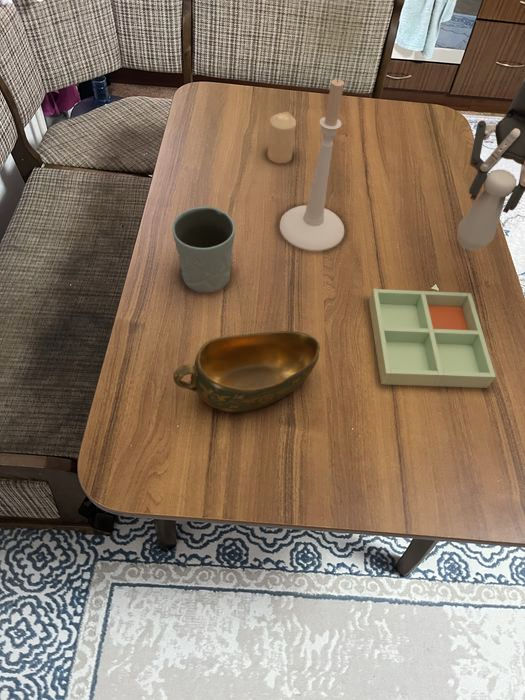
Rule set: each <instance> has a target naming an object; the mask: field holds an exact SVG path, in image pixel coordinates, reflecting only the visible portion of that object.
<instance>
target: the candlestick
mask: <svg viewBox="0 0 525 700" xmlns="http://www.w3.org/2000/svg"><path fill="white" fill-rule="evenodd" d="M344 87H345V82H344V80H342V79H341V78H340V79H339V78H334V79H332V80H331V82H330V87H329V93H328V99H327V105H326V110H325V116H323V117H321V118H320V119H319V124H320V126H322V127H321V129H320V132H321V134H322V140H321V141H320V147H319V150H318V155H317V160H316V164H315V168H314V172H313V177H312V182H311V186H310V190H309V195H308V200H307V204H305V205H303V204H302V205H298V206H295V207H292V208H290V209H289V210H287V211H286V212H285V213H284V214H283V215H282V216H281V218H280V220H279V232H280V234H281V235H282V237H283V238H284V240H285V241H286V242H288V243H289V244H290V245H291V246H293V247H295V248H298V249H300V250H304V251H308V252H309V251H310V252H322V251H327V250H330V249H333V248H335V247H336V246H337V245H338V244H340V243H341V241H342V240H343V238H344V235H345V226H344V223H343V221H342V220H341V218H340V217H339V216H338V215H337V214H336V213H335V212H333V211H331V210H330V209H328V208H325V207H326V199H327V198H326V197H327V191H328V184H329V175H330V167H331V161H332V151H333V147H334V142H333V140H334V137H335V136H337V134H338V129H340V128H341V126H342V121H341V120H340V119H339V113H340V108H341V103H342V97H343V93H344Z"/></svg>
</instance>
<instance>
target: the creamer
mask: <svg viewBox="0 0 525 700" xmlns="http://www.w3.org/2000/svg"><path fill="white" fill-rule="evenodd" d="M320 352H321V345H320V342H319V341H318V340H317V338H315V337H314V336H312V335H311V334H308V333H304V332H300V331H295V330H279V331H278V330H276V331H275V330H274V331H265V332H255V333H244V334H235V335H233V334H232V335H224V336H220V337H215V338H213V339H212V338H211V339H210V340H208V341H206V342H205V343H203V345H201V347H200V348H199V349H198V351H197V353H196V357H195V360H194V363H193V364H194V365H193V364H184V365H181V366H179V367H177V368H176V369H175V371H174V372H173V382H174V384H175V385H177V386H178V387H179V388H182V389H185V390H190V391H192V392H194V393H196V394H197V395H198V396H199V397H200V398H201V399H202V400H203V401H204V402H205V403H206V404H207V405H209V406H211V407H212V408H214V409H216V410H219V411H222V412H224V413H229V414H245V413H250V412H254V411H259V410H262V409H263V408H267V407H269V406H271V405H273V404H275V403H277V402H279V401H280V400H282V399H284V398H286V397H287V396H289V394H291V393H293V392H294V391H295V390H297V388H299V387H300V386H301V385H302V384H303V383H304V382H305V381H307V379H308V378H309V376H310V375H311V374H312V372H313V370H314V368H315V366H316V364H317V363H318V361H319V357H320ZM187 375H190V380H189V381H184V380H183V378H184V376H187Z"/></svg>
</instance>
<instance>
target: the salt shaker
mask: <svg viewBox="0 0 525 700" xmlns="http://www.w3.org/2000/svg"><path fill="white" fill-rule="evenodd" d="M487 174H488V175H487V177H486V179H485V181H484V184H483V188H484V190H483V191H482V192H481V194H480V195H479V196H478V197H477V198H476V200H475V202H474V203H473V204H472V206H471V207H470V208H469V210H468V211H467V212H466V214H464V216H463V217H462V219H461V220H460V222H458V225H457V230H456V240H457V242H458V244H459V245H460V246H461V248H462V249H464V250H468V251H472V252H476V251H478V250H480V249H483V248H484V247H486V246H488V245H489V244H490V243H492V241H493V240H494V239H495V236H496V232H497V230H498V226H499V222H500V219H501V216H502V212H503V210H504V204H505V201H506V197H508V196H511V194H512V192H513V191H514V189H515V187H516V185H517V179H516V177H515V175H514V174H513V173H511V172H510V171H508V170H505V169H500V168H499V169H493V170H490V171H489V172H488V173H487Z"/></svg>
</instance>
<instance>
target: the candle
mask: <svg viewBox="0 0 525 700" xmlns="http://www.w3.org/2000/svg"><path fill="white" fill-rule="evenodd" d="M268 128H269V130H268V142H267V158H268V160H270V161H271V162H273V163H275V164H286V163H289V162H290V161H291V160H292V159H293V152H294V145H295V137H296V128H297V120H296V118H294V116H293V115H292V114H291V113H290V112H289V111H282V112H279V113H276V114H274V115H272V116H271V117H270V119H269V127H268Z"/></svg>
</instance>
